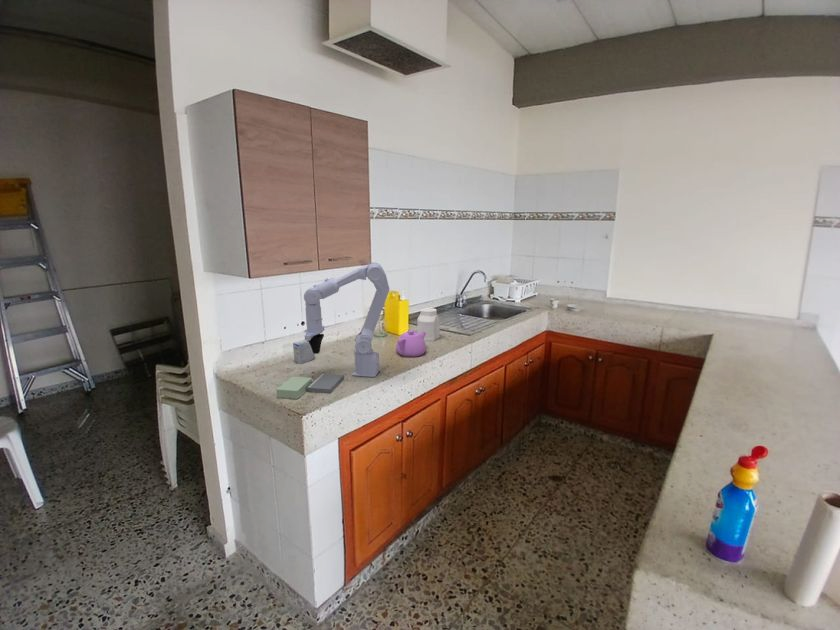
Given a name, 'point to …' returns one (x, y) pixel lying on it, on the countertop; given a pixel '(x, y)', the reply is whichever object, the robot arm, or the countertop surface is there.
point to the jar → (429, 324)
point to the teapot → (411, 344)
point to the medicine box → (303, 352)
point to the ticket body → (325, 383)
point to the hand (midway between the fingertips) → (316, 353)
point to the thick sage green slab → (293, 387)
